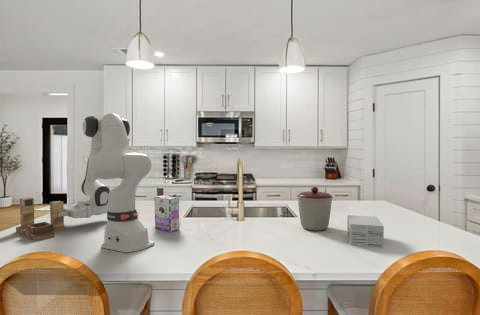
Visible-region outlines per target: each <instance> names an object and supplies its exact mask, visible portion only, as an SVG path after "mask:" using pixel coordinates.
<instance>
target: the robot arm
mask: <svg viewBox="0 0 480 315" xmlns="http://www.w3.org/2000/svg"><path fill="white" fill-rule="evenodd" d="M81 126H82V131H83V133H84V135H85V136H86V137H89V138H91V142H90V153H89V156H88V159H87V163H86V170H85V176H84V180H83V181H82V183H81V189H80V190H81V192H82V193H83V195H85V196H88V197H89V200H83V201H82V200H81V201H78V202H76V204H75V205H73V204H71V205H64V212H59V213H57V216H59V217H60V216H64V217H68V218H73V219H84V218H85V219H86V218H87V219H89V218H90V219H91V217H92V216H100V215H104V214H105V215H106V219H107V223H106V225H105V226H104V232H103V233H104V234H103V243H101V246H100V247H101V248H102V249H107V250H111V251H116V252H117V251H118V252H122V253H132V252H138V251H141V250H144V249H147V248H150V247H152V246H155V241H153V240H151V239H150V238H149V232H148V227H146V226H144V224H143V223H142V222H141V221H140V220H139V212H138V211H137V208H136V196H137V195H136V193H137V189H138V188H139V185H140V182H142V180H143V179H144V178H145V177H146V176H148V175H149V173H150V171H151V169H152V162H151V161H152V160H151V159H150V157H149V155H147V154H145V153H139V152H138V153H137V152H126V150H127V149H128V148H129V144H130V142H129V135H130V133H131V125H130V122H129V121H128V120H127V119H125V118H121V116H119V115H118V114H116V113H113V112H112V113H106V114H104V115H102V116H101V115H99V116H97V115H96V116H94V115H90V116H86V117H85V118H84V120H83V122H82V125H81ZM99 179H100V180H114V179H122V180H121V182H120V183H119V185H117V186H115V187H113V188H111V189H110V188H109V187H108V186H107V185H105V184H103V183H102V182H100V180H99Z"/></svg>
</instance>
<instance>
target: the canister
mask: <svg viewBox="0 0 480 315" xmlns="http://www.w3.org/2000/svg"><path fill="white" fill-rule="evenodd" d="M310 190H311V191H302V192H300V193H298V194H296V198H297V203H298V212H299V221H300V225H301V226H302V228H303V229H304V230H308V231H316V232H317V231H318V232H319V231H324V230H326V229H328V227H329V225H330V217H331V210H332V200H333V199H334V196H333V195H331V194H330V193H328V192H325V191H323V192H322V191H319V188H318V187H317V186H312V187H311V188H310Z"/></svg>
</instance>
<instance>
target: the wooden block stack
mask: <svg viewBox="0 0 480 315" xmlns="http://www.w3.org/2000/svg"><path fill="white" fill-rule="evenodd" d="M34 200H35V199H34V197H30V196H29V197H21V198H19V212H20V214H19V215H20V226H15V233H18V234H19V235H21V236H23V237H26V238H27V239H30V240H31V241H34V242H37V241H42V240H46V239H51V238H55V231H53V225H52V224H51V222H50V223H49V222H46V221H43V222H37V223H35V201H34Z"/></svg>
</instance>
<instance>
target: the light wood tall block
mask: <svg viewBox="0 0 480 315" xmlns="http://www.w3.org/2000/svg"><path fill="white" fill-rule="evenodd" d="M64 206H65V205H64V201H61V200H58V201H57V200H54V201H50V202H49V211H50V212H49V213H50V216H49V218H50V224H52V225H53V231H54V232H56V231H62V230H65V216H60V217H59V216H57V213H59V212H64Z"/></svg>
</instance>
